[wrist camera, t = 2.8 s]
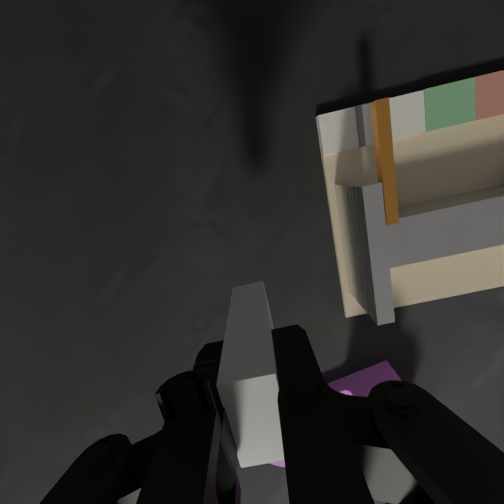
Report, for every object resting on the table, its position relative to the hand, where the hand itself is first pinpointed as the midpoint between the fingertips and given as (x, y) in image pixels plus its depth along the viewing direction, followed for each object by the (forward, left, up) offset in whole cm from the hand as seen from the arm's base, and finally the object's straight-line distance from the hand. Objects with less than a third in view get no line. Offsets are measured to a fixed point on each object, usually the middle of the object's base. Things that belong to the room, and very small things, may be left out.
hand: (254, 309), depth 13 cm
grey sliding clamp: (-2, +13, -7) cm, 15 cm away
